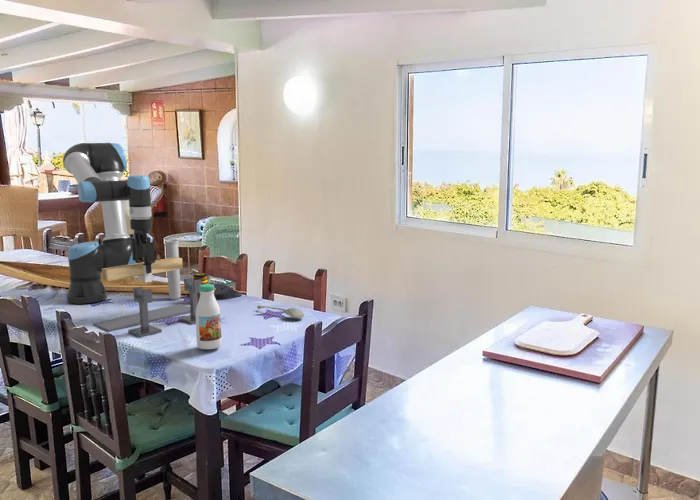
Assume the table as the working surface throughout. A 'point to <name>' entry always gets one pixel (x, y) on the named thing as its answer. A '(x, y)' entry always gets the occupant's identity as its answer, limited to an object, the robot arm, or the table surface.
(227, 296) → the dark slate chunk
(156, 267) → the hang bar
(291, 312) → the soupspoon
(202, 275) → the condiment
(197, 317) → the milk bottle
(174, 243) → the tube
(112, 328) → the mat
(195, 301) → the standards
